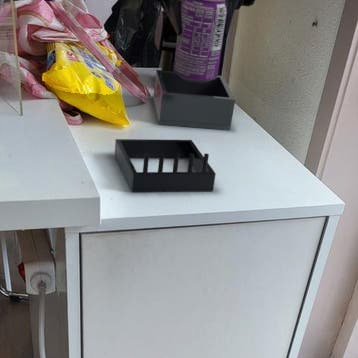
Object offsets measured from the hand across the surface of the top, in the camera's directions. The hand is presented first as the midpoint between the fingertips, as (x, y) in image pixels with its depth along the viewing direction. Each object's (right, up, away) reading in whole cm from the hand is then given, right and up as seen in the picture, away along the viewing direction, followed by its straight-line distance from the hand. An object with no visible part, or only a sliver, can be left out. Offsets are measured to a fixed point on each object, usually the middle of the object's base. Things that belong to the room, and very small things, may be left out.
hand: (202, 36), depth 99 cm
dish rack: (-6, -24, -10) cm, 27 cm away
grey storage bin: (-2, -8, +9) cm, 12 cm away
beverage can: (-1, -4, +6) cm, 7 cm away
